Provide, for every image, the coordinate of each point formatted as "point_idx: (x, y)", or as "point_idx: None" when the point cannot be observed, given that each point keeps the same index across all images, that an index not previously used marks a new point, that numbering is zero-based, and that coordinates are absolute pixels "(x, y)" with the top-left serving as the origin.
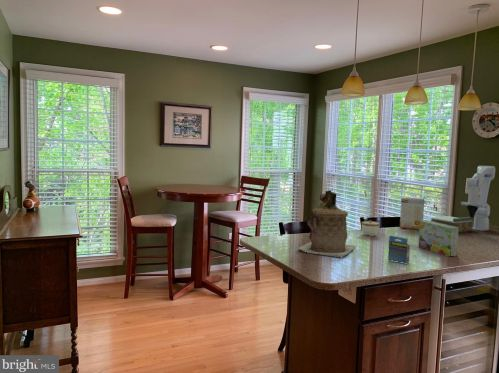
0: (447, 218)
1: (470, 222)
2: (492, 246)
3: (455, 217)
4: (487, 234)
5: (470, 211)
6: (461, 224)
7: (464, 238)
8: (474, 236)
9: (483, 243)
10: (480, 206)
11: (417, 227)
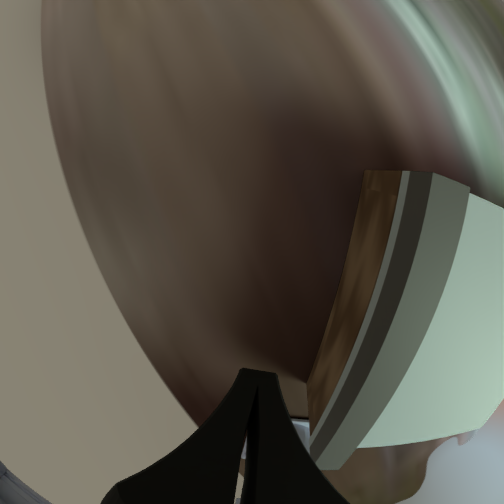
0: (501, 340)
1: (317, 417)
2: (46, 17)
3: (442, 432)
4: (170, 334)
5: (258, 451)
6: (364, 288)
7: (196, 13)
8: (179, 155)
9: (78, 19)
10: (23, 501)
11: None
